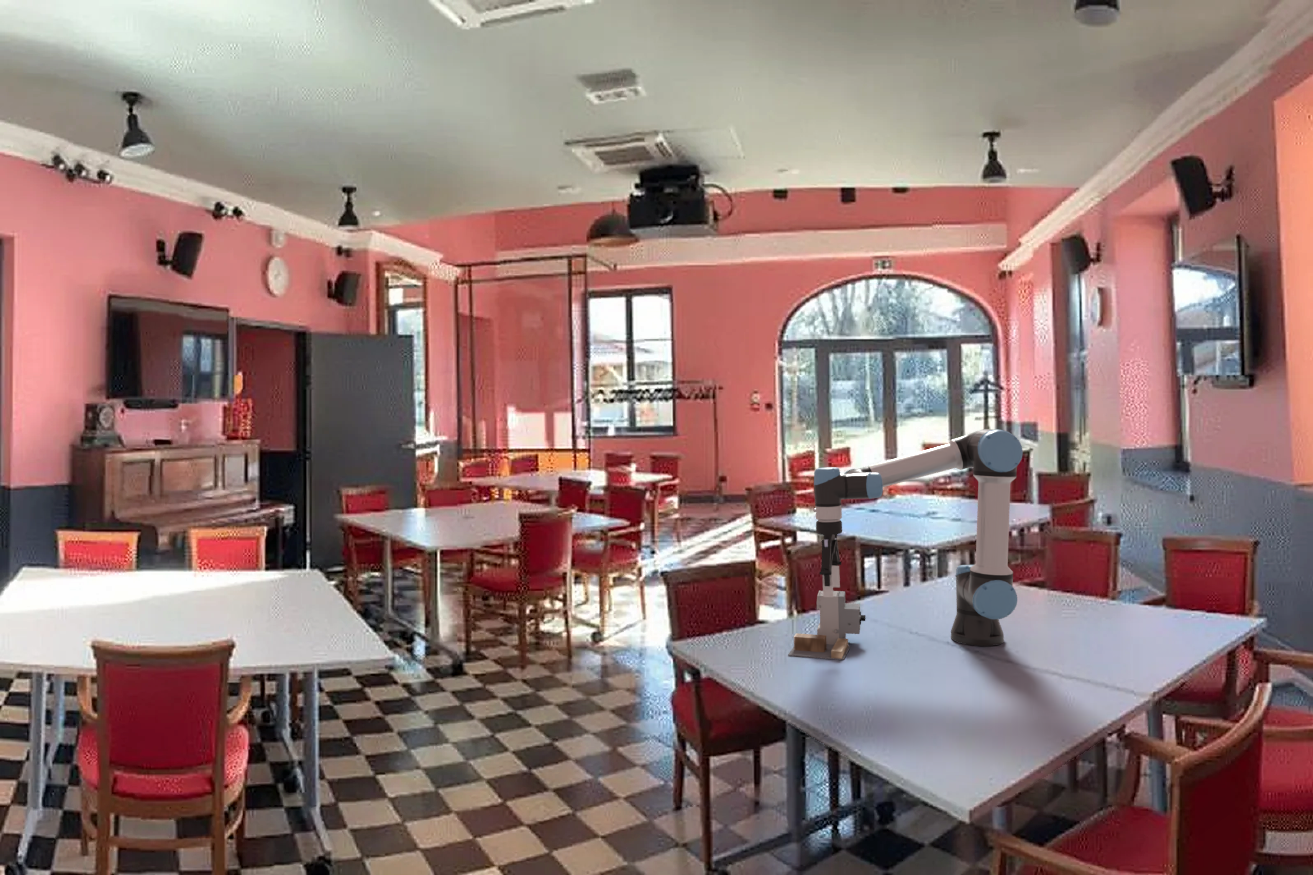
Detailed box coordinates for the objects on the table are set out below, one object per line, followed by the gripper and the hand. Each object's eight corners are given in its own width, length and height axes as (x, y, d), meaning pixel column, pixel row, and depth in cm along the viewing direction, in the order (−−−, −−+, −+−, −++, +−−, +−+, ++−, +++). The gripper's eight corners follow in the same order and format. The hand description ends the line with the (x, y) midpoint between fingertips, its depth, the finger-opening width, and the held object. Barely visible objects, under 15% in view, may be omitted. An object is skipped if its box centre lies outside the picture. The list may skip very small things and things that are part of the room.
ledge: (848, 645, 254) (848, 639, 254) (841, 658, 241) (841, 651, 241) (838, 644, 255) (838, 638, 255) (831, 657, 242) (831, 650, 242)
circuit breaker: (865, 646, 254) (864, 597, 253) (817, 644, 258) (816, 595, 257) (866, 640, 261) (865, 592, 261) (819, 637, 265) (818, 590, 264)
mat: (849, 647, 254) (849, 645, 254) (843, 660, 241) (843, 658, 241) (797, 643, 259) (797, 641, 259) (788, 655, 246) (788, 654, 246)
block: (826, 635, 251) (796, 633, 254) (824, 638, 247) (793, 636, 250) (826, 648, 251) (796, 646, 254) (824, 652, 247) (793, 650, 251)
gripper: (822, 514, 261) (825, 582, 261) (808, 526, 237) (811, 601, 238) (847, 514, 258) (850, 583, 259) (835, 526, 235) (838, 601, 235)
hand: (831, 592), depth 248 cm, fingers open, 13 cm apart
